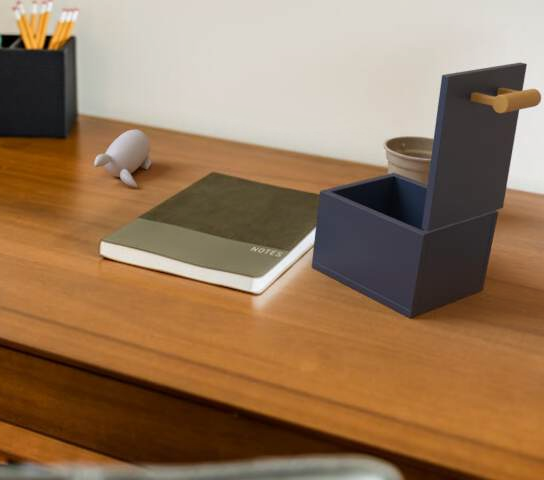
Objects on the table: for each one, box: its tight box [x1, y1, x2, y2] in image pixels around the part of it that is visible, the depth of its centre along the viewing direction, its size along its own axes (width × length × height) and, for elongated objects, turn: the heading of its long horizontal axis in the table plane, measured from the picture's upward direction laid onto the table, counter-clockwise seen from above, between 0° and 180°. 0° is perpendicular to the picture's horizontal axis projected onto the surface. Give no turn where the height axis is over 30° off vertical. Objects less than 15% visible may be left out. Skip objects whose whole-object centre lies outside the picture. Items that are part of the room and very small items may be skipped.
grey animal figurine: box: [93, 129, 152, 188], centre depth 121 cm, size 6×5×12 cm
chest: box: [311, 173, 499, 319], centre depth 93 cm, size 14×12×9 cm
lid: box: [422, 62, 542, 231], centre depth 82 cm, size 14×12×5 cm
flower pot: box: [383, 135, 434, 185], centre depth 111 cm, size 9×9×9 cm
